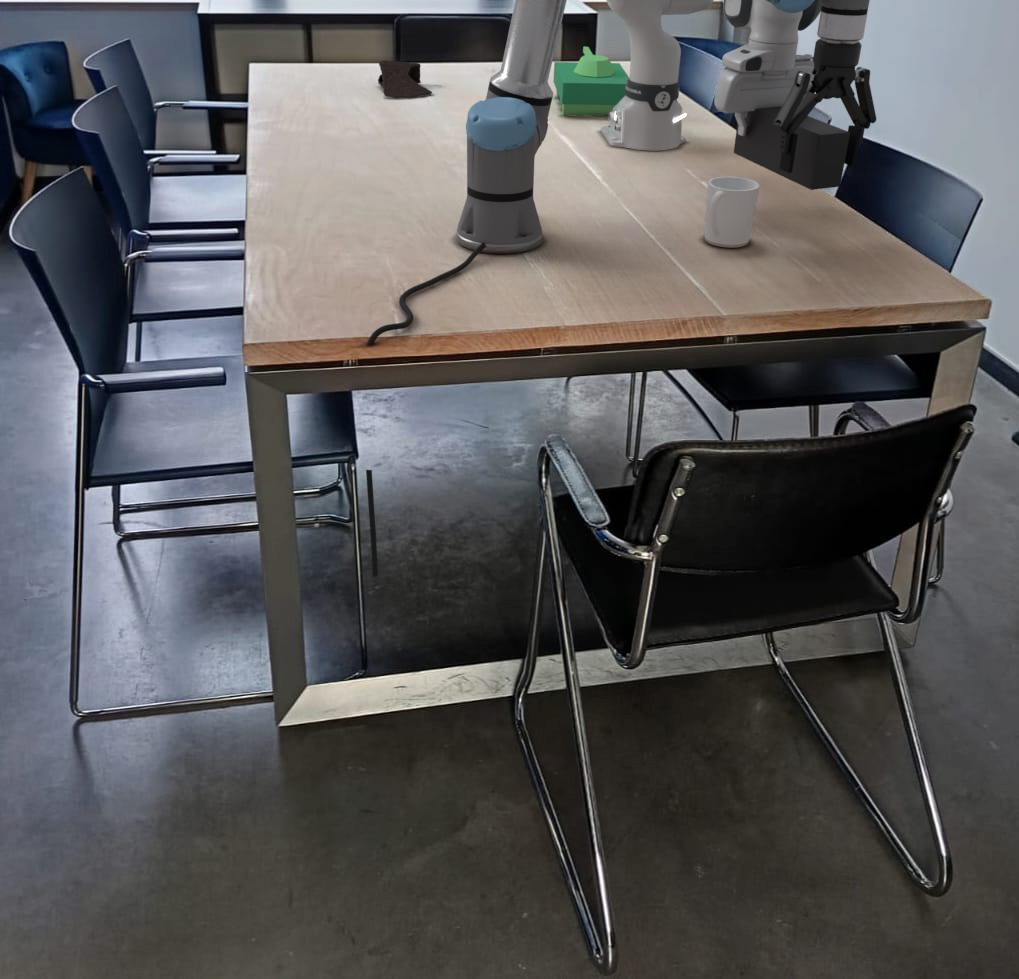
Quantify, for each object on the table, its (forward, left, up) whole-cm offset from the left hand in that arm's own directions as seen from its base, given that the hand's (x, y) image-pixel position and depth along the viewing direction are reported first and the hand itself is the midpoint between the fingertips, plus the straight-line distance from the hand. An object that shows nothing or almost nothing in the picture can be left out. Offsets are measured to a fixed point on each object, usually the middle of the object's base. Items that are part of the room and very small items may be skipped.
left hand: (817, 167), depth 194 cm
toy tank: (+102, +46, -13) cm, 113 cm away
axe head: (+106, +97, -13) cm, 145 cm away
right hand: (+16, +9, +2) cm, 19 cm away
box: (+8, +5, -3) cm, 10 cm away
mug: (-6, +15, -13) cm, 21 cm away
